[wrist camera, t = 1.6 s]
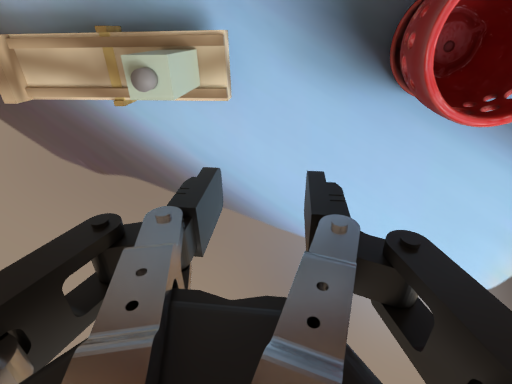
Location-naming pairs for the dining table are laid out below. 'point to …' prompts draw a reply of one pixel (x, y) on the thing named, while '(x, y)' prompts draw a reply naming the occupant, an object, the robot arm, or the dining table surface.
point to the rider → (161, 73)
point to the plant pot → (457, 59)
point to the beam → (103, 64)
